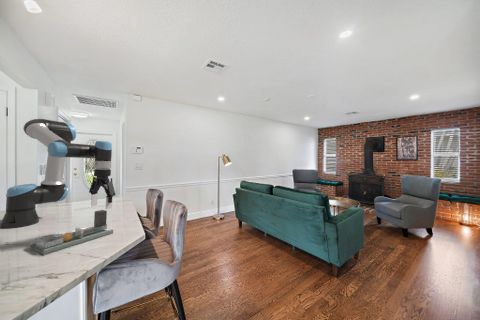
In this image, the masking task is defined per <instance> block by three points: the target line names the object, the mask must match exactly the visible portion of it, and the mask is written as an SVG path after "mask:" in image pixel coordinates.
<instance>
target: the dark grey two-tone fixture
mask: <svg viewBox="0 0 480 320" xmlns="http://www.w3.org/2000/svg"><path fill="white" fill-rule="evenodd" d="M107 214H108V211H107V210H106V209H105V210H104V209H100V210H96V211H94V216H93V218H94V219H93V221H94V223H93V226H90V227H86V228H80V227H75V231H74V232H75V236H76V237H78V238H83V235H87V234H90V233H94V232H97V231H101V230H108V223H107V219H108V218H107V216H108V215H107Z"/></svg>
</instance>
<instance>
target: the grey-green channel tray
mask: <svg viewBox="0 0 480 320" xmlns="http://www.w3.org/2000/svg"><path fill="white" fill-rule="evenodd" d="M70 233H71V234H72V235H73V237H72V239H71V240H69V241H66V242H65V241H63V244H62V245H58V246H55V247H52V248H48V249H45V250H43V251H42V250H40V249H38V248H36V247H35V241H34V242H30V243H29V246H28V247H29V249H31V250H33V251H34V252H37V253H39V254H41V255H42V256H47V255H49V254H52V253H55V252H56V253H57V252H58V251H59V252H60V251H62V250H65V249H68V248H72V247H74V246H78V245H81V244H83V243H87V242H91V241H93V240H96V239H100V238H103V237H106V236H109V235H112V234H114V229H104V230H101V231H97V232H94V233H90V234H87V235H83V238H78V237H76V236H75V231H70ZM62 235H63V234H60V235H56V236H54V239H53V241H55V240H58V239H61V238H62Z"/></svg>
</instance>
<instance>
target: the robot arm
mask: <svg viewBox="0 0 480 320" xmlns="http://www.w3.org/2000/svg"><path fill="white" fill-rule="evenodd" d="M23 132H24V134H26V135H27V136H28V138H29V137H30V139H34V140H37V141H38V142H40V143H41V144H43V146H45V147H46V148H47V157H46V164H45V165H46V168H45V175H44V179H43V180H42V181H41V182H40V185H38V184H36V183H28V184H18V185H13V186H10V187H9V188H8V189H6V190H7V191H6V194H5V197H6V200H5V202H6V203H5V213H4V215H3V218H2V219H1V221H0V228H1V229H14V228H23V227H27V226H32V225H35V224H38V223H39V221H40V217H39V214H38V212H37V209H36V208H37V207H36V206H37V205H43V204H49V203H58V202H62V201H64V200H65V199H66V198H67V196H68V195H69V191H70V190H69V185H68V184H67V183H66V182H65V181H64V180H63V179H64V174H65V173H64V172H65V165H66V164H65V163H66V158H79V159H80V158H81V159H94V163H93V165H94V166H93V167H94V170H93V177H92V180H91V181H92V182H91V185H90V188H89V191H88V193H90V195H91V201H90V203H91V204H90V206H91V207H96V206H98V201H99V200H98V199H99V198H98V197H99V195H98V193H99V192H98V191H99V190H100V188H101V187H102V188H103V190H104V193H105V210H110V209H112V208H113V197H114V196H116V191H115V187H114V183H113V177H112V178H111V177H110V176H112V174H111V173H112V170H111V168H112V155H113V152H112V150H113V148H112V147H113V146H112V142H110V141H106V140H105V141H104V140H97V141H95V143H94V144H85V143H84V144H82V143H74V142H73V141H75V140H76V138H77V131H76V129H75V126H74V125H73V124H72V123H68V122H63V121H56V120H50V119H46V118H33V119H31V120H28V121H27V122H26V123H25V124H24V125H23ZM72 142H73V143H72Z"/></svg>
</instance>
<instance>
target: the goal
mask: <svg viewBox="0 0 480 320" xmlns="http://www.w3.org/2000/svg"><path fill="white" fill-rule="evenodd" d="M54 237H55V236H54V234H48V235H45V236H41V237H37V238H34V242H35V247H36V248H38V249H40V250H42V251H43V250H45V249H48V248H52V247H55V246H58V245H62V244H63V239H58V240H55V241H53V239H54Z"/></svg>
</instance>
